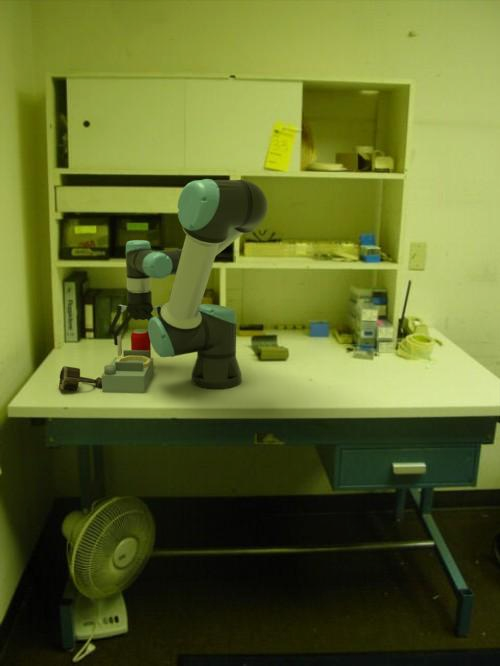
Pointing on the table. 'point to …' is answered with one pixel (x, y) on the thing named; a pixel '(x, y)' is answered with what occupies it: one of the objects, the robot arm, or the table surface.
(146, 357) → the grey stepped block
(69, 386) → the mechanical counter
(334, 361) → the table surface
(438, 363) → the table surface
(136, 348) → the beverage can
